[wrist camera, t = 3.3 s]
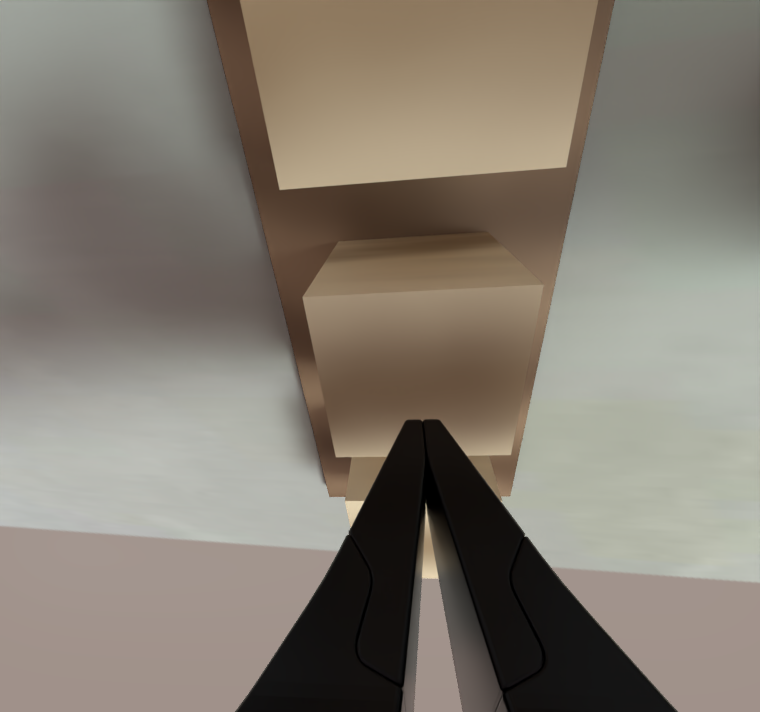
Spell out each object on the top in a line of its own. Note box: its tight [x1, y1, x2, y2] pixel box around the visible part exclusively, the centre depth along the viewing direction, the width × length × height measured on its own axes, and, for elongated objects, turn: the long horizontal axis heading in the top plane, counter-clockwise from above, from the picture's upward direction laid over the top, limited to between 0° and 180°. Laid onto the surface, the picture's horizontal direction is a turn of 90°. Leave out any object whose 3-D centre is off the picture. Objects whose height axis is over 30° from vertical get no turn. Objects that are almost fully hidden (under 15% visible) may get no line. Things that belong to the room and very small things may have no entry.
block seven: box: [240, 0, 598, 190], centre depth 8 cm, size 6×6×6 cm
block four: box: [345, 455, 502, 578], centre depth 17 cm, size 6×6×6 cm
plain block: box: [302, 232, 544, 457], centre depth 12 cm, size 6×6×6 cm
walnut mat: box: [207, 0, 615, 497], centre depth 13 cm, size 36×12×1 cm, turn 4°
